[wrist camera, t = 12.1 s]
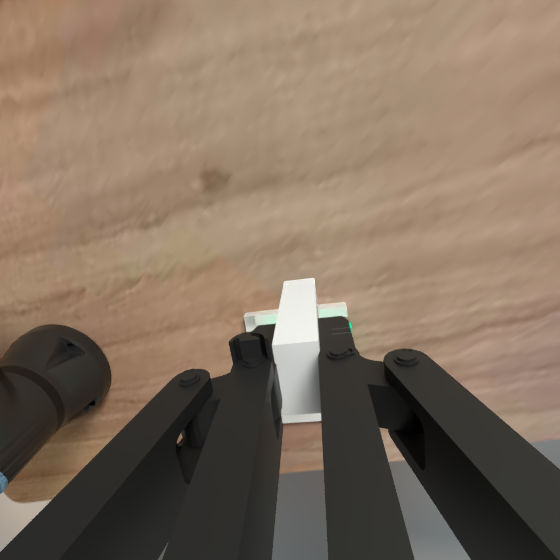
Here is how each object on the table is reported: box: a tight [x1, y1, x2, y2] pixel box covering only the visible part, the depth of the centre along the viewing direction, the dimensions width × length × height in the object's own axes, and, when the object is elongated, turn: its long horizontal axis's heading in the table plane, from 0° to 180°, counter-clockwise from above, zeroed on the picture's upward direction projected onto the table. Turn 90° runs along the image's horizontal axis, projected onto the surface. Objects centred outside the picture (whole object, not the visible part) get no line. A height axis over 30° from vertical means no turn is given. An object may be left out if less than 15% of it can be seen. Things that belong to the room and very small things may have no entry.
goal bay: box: [244, 302, 347, 423], centre depth 52 cm, size 14×18×2 cm
